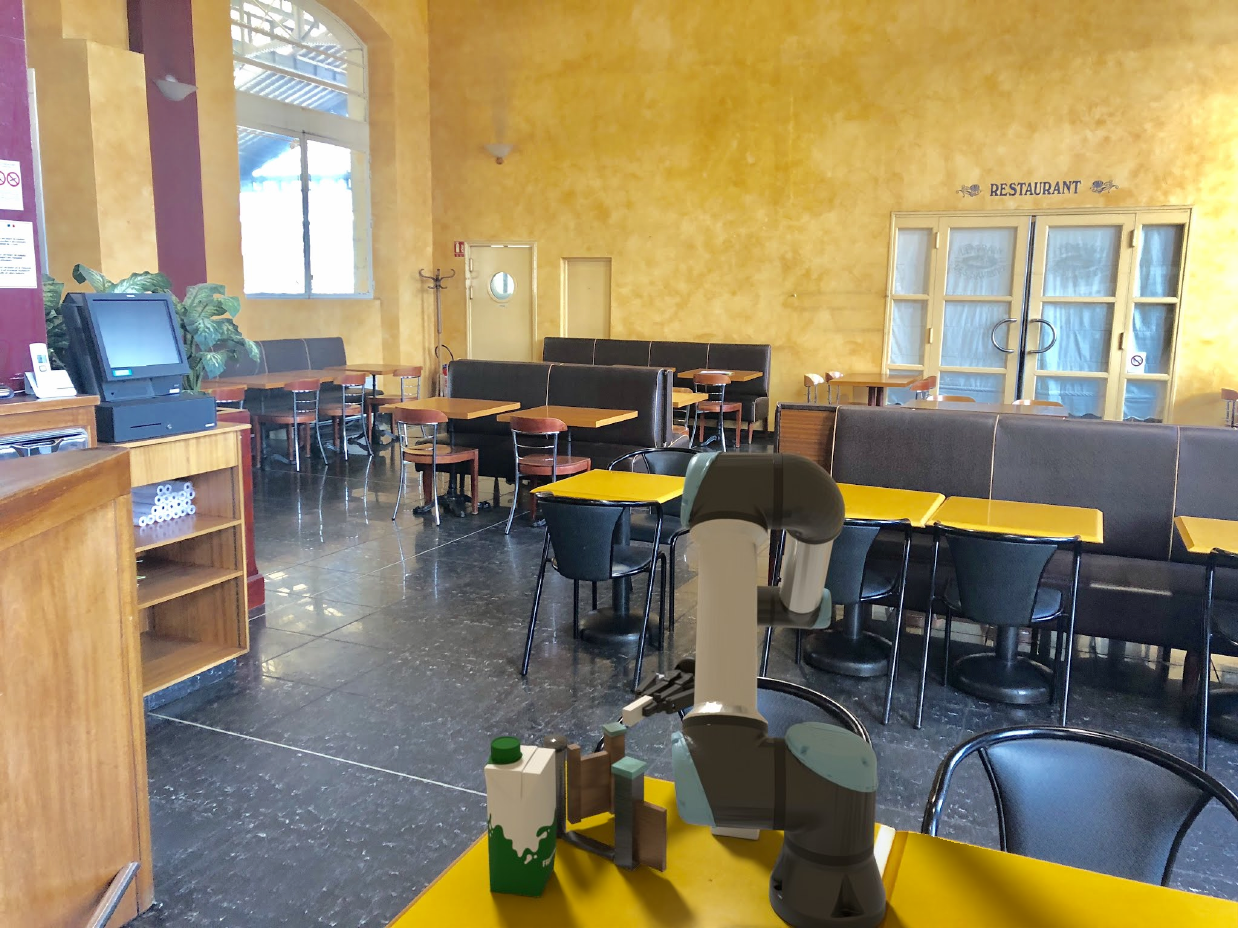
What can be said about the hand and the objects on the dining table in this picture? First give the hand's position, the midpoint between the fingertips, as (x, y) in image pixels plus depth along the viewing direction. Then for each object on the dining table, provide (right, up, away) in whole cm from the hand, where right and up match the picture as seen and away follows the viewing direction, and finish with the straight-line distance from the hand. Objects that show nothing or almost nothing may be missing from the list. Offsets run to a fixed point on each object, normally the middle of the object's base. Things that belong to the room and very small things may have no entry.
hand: (626, 717), depth 151 cm
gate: (-5, -13, -5) cm, 15 cm away
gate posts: (-4, -16, -14) cm, 21 cm away
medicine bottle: (+17, -15, -6) cm, 24 cm away
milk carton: (-14, -17, -20) cm, 30 cm away
